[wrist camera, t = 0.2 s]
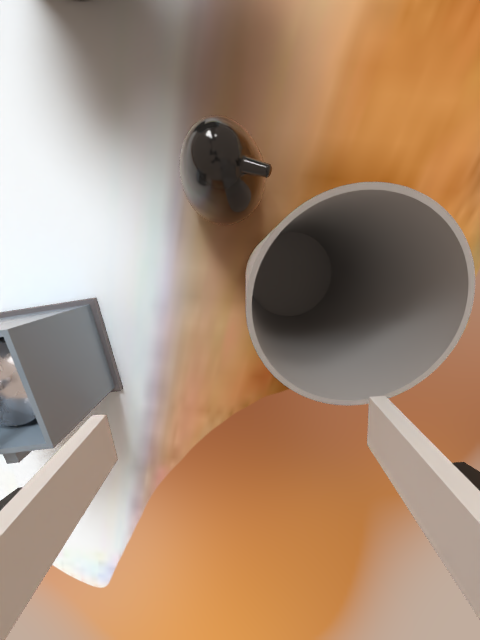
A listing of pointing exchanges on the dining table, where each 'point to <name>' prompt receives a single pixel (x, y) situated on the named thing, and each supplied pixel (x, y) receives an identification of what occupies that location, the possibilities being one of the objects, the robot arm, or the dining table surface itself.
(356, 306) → the cylinder vase
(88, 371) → the grey open bin
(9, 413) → the plunger
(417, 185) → the dining table surface
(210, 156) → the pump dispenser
